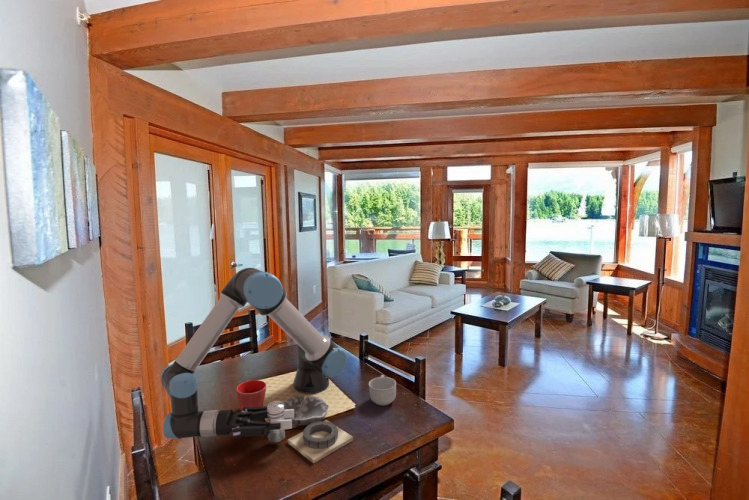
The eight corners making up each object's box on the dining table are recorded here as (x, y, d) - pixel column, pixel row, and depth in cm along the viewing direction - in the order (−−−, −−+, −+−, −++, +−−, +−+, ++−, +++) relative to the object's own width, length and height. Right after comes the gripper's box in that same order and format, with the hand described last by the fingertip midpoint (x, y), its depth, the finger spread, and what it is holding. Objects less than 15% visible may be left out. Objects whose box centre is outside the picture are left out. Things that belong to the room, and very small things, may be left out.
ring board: (287, 442, 121) (287, 432, 120) (326, 422, 132) (326, 413, 132) (313, 463, 111) (313, 452, 111) (353, 440, 123) (353, 429, 122)
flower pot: (272, 406, 143) (272, 382, 142) (254, 421, 133) (254, 395, 132) (249, 401, 147) (249, 377, 146) (230, 415, 136) (229, 390, 135)
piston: (265, 437, 120) (263, 405, 119) (279, 430, 124) (278, 398, 122) (273, 444, 116) (272, 411, 115) (288, 436, 120) (287, 404, 119)
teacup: (393, 410, 141) (393, 390, 140) (365, 407, 143) (365, 387, 142) (398, 392, 155) (399, 374, 154) (373, 389, 157) (373, 371, 156)
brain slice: (330, 402, 147) (330, 395, 146) (326, 428, 130) (326, 419, 129) (280, 402, 146) (280, 395, 146) (269, 428, 129) (269, 420, 129)
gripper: (227, 417, 127) (296, 413, 129) (209, 452, 109) (289, 447, 111) (226, 396, 126) (295, 393, 128) (207, 428, 108) (288, 424, 110)
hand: (292, 418), depth 120 cm, fingers closed on piston, 5 cm apart
